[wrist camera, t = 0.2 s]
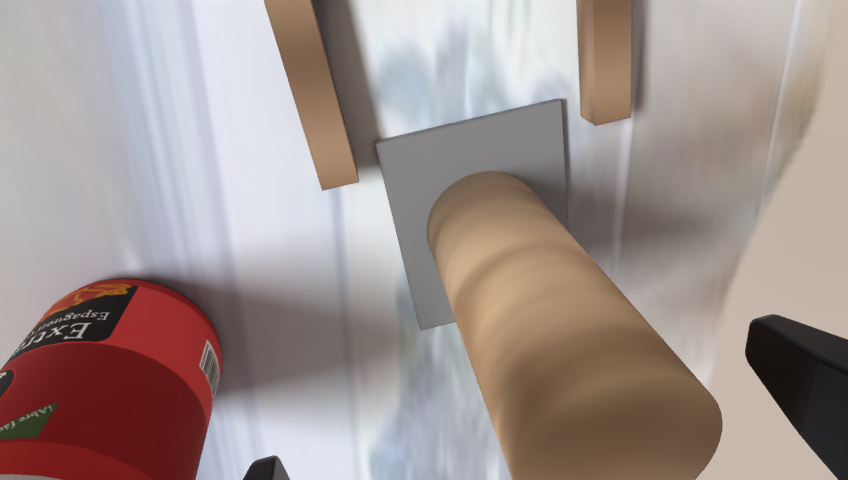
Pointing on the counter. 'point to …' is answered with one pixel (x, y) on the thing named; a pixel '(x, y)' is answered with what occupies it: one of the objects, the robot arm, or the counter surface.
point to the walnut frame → (320, 109)
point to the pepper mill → (562, 346)
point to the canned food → (110, 387)
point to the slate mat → (455, 159)
